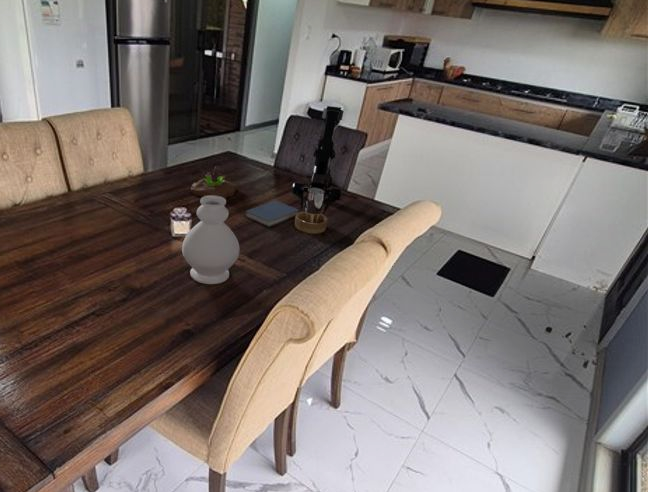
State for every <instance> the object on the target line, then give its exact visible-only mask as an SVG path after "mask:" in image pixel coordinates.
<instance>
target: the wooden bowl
mask: <svg viewBox="0 0 648 492" xmlns="http://www.w3.org/2000/svg"><path fill="white" fill-rule="evenodd" d="M304 219H305V210H304V211H298V213H297V214H296V216H295V217H294V224H293V226H294V228H295V229H296V230H298V231H300V232H303V233H307V234H314V235H315V234H322V233H324V232H325V231H326V229H327V225H328V221H329V219H328V217H327V216H326V215H325V214H324V213H323V214H322V213H320V215H319V218H318V223H308V222H305V221H304Z"/></svg>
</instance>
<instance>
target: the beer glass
mask: <svg viewBox="0 0 648 492" xmlns="http://www.w3.org/2000/svg"><path fill="white" fill-rule="evenodd" d="M324 195H325V191H324V190H323V189H320V188H309V189H308V191H307V192H306V196H305V200H304V211H305V219H304V221H305V222H308V223H318V218H319V215H320V214H321V213H322V210H323V207H324V202H325V200H324Z"/></svg>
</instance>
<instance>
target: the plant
mask: <svg viewBox="0 0 648 492" xmlns="http://www.w3.org/2000/svg"><path fill="white" fill-rule="evenodd" d="M219 168H220V166H219V165H218V164H217V165H215V166H214V168H213V172H207V174H205V177H204V178H202V179H200V180H198V181H197V182H193V184H191V187H190V192H191V193H192V194H193V195H194V196H199V197H204V196H209V195H214V196H220V197H223V198H224V199H225V200H227V198H232V197H234V195H235V193H236V192H237V190H238V186H237V184H235V183H234V182H231V181H229V180H226V179H225V178H226V175H225V174H224V173H218V174H217V170H219Z"/></svg>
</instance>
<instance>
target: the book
mask: <svg viewBox="0 0 648 492" xmlns="http://www.w3.org/2000/svg"><path fill="white" fill-rule="evenodd" d="M299 212H300V209H298V208H295V207H293V206H291V205H288V204H286V203H283V202H280V201H279V200H273V201H269V202H267V203H264V204H261V205H258V206H255V207H253V208H250V209H247V210H245V215H244V217H246V218H247V219H250V220H252V221H255V222H257V223H258V224H261V225H264V226H266V227H268V228H270V227H273V226H276V225H278V224H281V223H283V222H286V221H287V220H291V219H293V218H295V217H296V214H297V213H299Z"/></svg>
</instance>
